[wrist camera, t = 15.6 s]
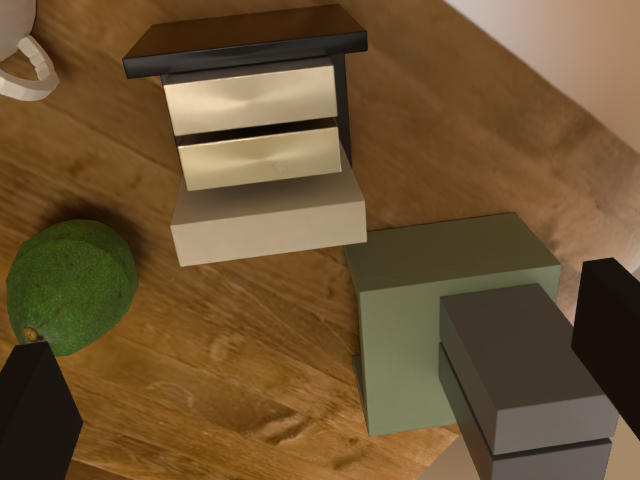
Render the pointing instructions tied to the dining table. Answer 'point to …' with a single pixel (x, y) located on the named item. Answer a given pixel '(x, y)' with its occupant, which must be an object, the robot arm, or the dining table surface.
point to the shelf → (414, 306)
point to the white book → (269, 217)
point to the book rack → (254, 92)
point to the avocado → (70, 285)
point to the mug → (12, 34)
